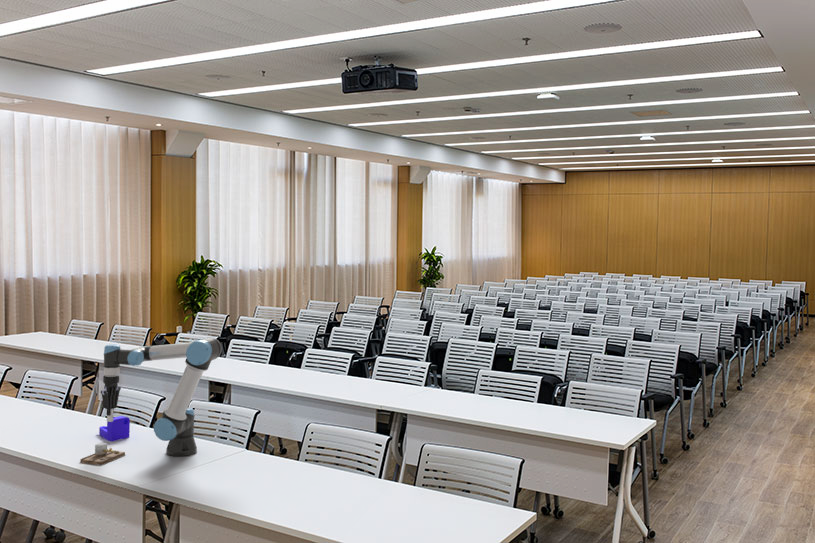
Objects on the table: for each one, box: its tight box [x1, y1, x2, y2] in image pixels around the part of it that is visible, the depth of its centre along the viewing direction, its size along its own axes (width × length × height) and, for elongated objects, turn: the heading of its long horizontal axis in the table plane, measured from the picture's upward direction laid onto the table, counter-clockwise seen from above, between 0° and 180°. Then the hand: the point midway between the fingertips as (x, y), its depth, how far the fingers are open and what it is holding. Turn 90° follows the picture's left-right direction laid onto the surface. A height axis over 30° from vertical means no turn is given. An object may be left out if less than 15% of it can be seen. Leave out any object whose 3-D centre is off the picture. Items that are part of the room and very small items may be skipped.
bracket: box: [98, 415, 131, 442], centre depth 399 cm, size 18×11×12 cm, turn 57°
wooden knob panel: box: [79, 450, 126, 466], centre depth 358 cm, size 12×18×3 cm, turn 165°
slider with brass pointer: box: [94, 442, 115, 456], centre depth 359 cm, size 9×4×5 cm, turn 75°
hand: (109, 421), depth 365 cm, fingers closed
